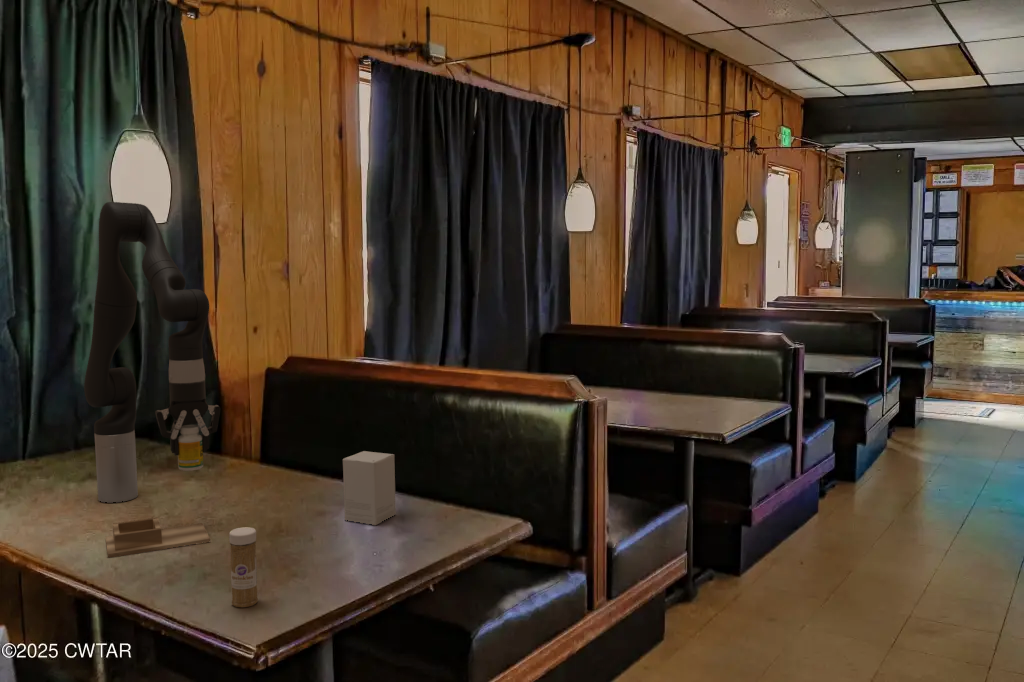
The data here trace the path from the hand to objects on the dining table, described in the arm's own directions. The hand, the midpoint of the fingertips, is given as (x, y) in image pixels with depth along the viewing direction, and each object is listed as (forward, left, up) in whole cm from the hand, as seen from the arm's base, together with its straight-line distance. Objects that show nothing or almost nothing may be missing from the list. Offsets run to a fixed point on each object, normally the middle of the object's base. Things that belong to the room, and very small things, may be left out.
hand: (190, 452), depth 191 cm
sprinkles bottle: (+48, +3, -18) cm, 51 cm away
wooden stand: (+6, -8, -17) cm, 20 cm away
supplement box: (+12, +38, -18) cm, 44 cm away
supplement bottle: (0, 0, -4) cm, 4 cm away
